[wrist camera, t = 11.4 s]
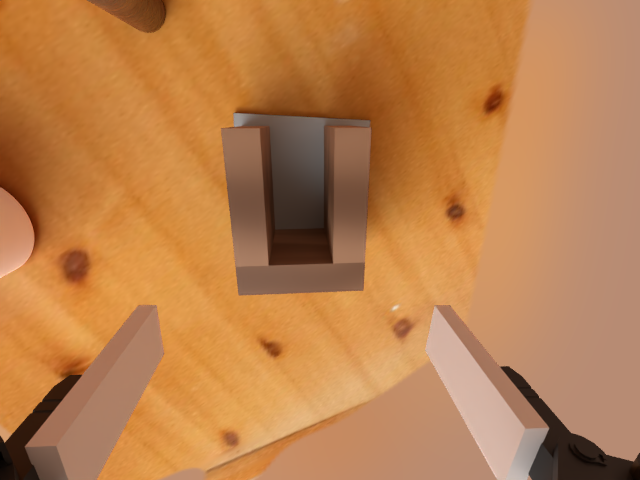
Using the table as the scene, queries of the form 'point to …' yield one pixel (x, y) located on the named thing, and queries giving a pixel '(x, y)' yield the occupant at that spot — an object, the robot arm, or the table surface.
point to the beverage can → (14, 234)
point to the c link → (298, 244)
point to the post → (136, 12)
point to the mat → (297, 165)
